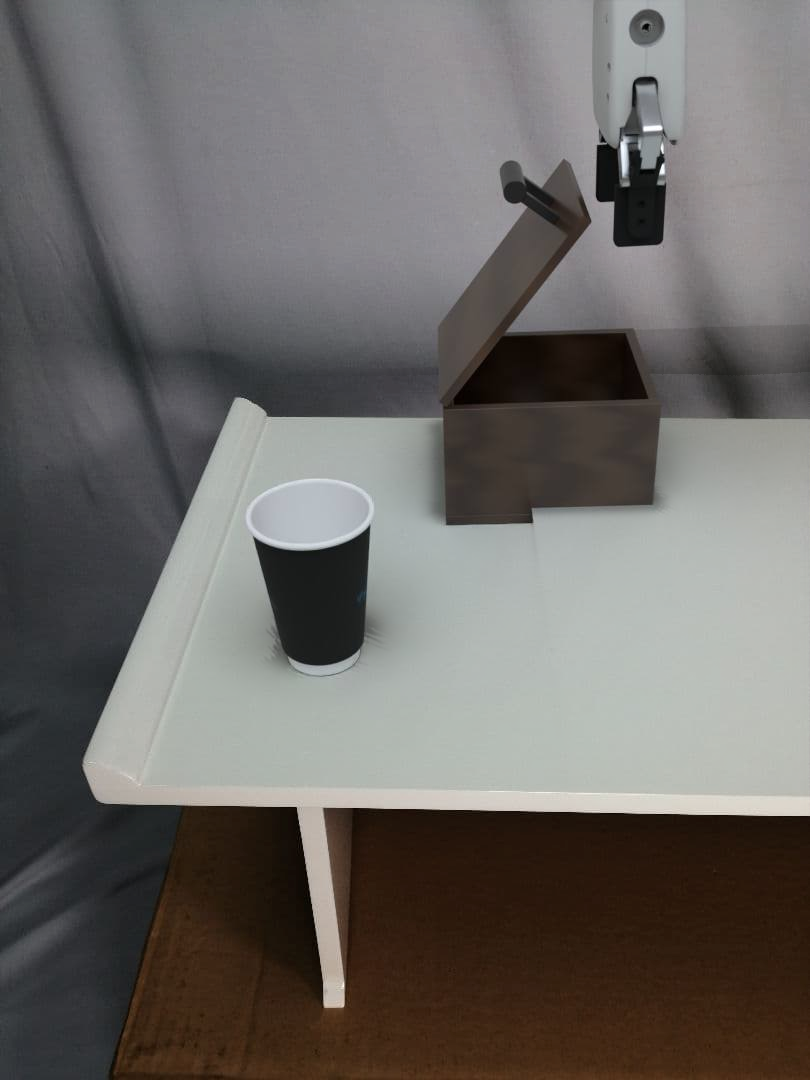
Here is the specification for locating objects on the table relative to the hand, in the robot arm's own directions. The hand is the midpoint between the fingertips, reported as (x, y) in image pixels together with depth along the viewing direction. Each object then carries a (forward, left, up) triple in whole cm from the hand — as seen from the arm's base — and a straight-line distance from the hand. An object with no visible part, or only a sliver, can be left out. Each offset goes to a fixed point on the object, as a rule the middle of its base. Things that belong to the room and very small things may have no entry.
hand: (627, 221), depth 81 cm
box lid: (+8, -2, -5) cm, 10 cm away
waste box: (+5, -2, -22) cm, 22 cm away
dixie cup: (+21, +20, -22) cm, 36 cm away
